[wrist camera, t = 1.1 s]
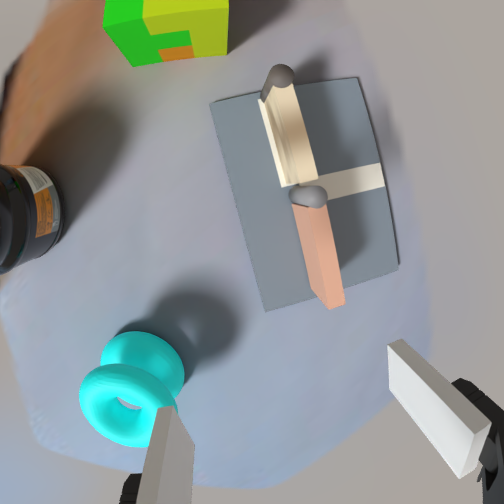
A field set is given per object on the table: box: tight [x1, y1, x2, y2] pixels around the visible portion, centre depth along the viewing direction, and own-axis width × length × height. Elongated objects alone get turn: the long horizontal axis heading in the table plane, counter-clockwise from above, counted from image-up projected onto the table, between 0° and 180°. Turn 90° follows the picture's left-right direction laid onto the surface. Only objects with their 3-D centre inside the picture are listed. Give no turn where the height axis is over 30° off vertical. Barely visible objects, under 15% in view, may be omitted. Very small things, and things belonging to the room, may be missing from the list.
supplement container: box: [0, 164, 65, 275], centre depth 23 cm, size 10×10×12 cm
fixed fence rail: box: [260, 64, 319, 184], centre depth 26 cm, size 10×2×7 cm, turn 15°
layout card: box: [209, 78, 399, 312], centre depth 31 cm, size 22×16×1 cm
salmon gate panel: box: [288, 186, 345, 309], centre depth 28 cm, size 11×2×7 cm, turn 15°
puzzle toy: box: [103, 0, 229, 67], centre depth 22 cm, size 10×10×10 cm
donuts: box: [79, 331, 185, 447], centre depth 29 cm, size 10×10×10 cm
